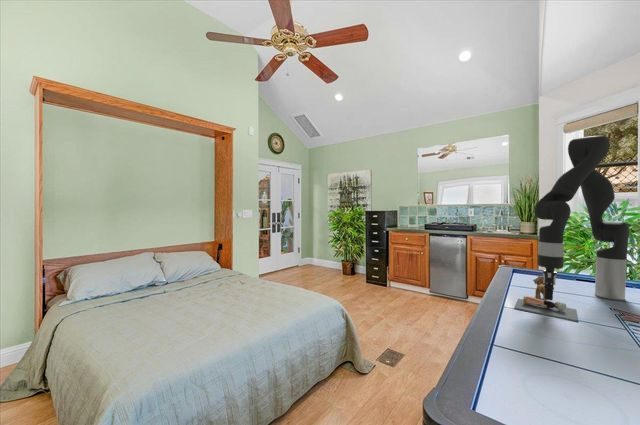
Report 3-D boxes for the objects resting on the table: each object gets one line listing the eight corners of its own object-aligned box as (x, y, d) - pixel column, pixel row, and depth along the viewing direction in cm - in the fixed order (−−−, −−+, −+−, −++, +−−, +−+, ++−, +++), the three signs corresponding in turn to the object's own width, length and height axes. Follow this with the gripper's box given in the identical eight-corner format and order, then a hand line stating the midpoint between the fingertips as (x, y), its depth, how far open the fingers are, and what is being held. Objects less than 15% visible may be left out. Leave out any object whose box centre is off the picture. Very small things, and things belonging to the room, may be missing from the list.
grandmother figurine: (524, 292, 113) (566, 297, 105) (524, 301, 113) (566, 307, 105) (522, 299, 107) (566, 306, 99) (523, 309, 108) (566, 316, 99)
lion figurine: (532, 294, 125) (533, 274, 125) (547, 296, 122) (548, 276, 122) (534, 303, 113) (535, 281, 113) (551, 306, 110) (552, 283, 110)
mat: (518, 299, 117) (518, 298, 117) (576, 310, 105) (576, 309, 105) (514, 308, 106) (514, 307, 106) (578, 322, 95) (578, 320, 95)
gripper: (563, 258, 97) (562, 304, 97) (563, 253, 108) (562, 294, 108) (536, 255, 102) (535, 299, 102) (538, 250, 113) (537, 290, 113)
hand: (549, 296), depth 105 cm, fingers open, 8 cm apart
